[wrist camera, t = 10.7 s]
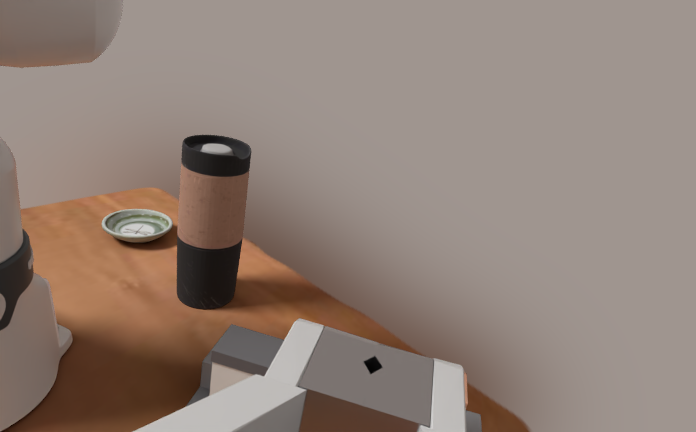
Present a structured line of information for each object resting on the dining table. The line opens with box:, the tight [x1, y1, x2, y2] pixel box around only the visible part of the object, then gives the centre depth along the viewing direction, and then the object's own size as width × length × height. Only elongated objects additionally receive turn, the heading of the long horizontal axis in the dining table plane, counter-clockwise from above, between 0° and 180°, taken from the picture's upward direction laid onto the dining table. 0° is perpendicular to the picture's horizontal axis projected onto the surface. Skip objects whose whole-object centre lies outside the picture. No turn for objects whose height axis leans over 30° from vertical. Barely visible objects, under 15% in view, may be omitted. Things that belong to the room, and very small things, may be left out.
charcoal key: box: [209, 324, 284, 396], centre depth 35 cm, size 3×5×11 cm, turn 78°
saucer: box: [102, 209, 173, 243], centre depth 69 cm, size 10×10×2 cm
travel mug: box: [177, 135, 251, 309], centre depth 55 cm, size 8×8×20 cm
